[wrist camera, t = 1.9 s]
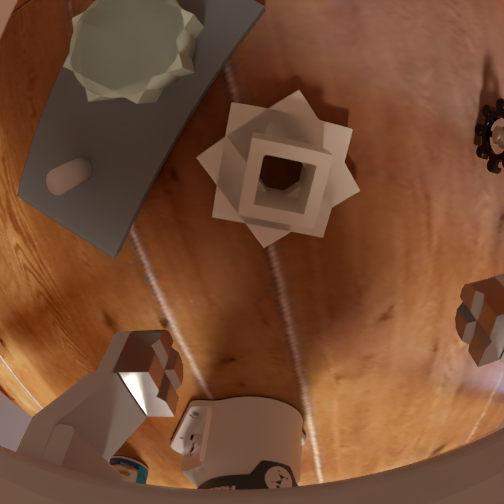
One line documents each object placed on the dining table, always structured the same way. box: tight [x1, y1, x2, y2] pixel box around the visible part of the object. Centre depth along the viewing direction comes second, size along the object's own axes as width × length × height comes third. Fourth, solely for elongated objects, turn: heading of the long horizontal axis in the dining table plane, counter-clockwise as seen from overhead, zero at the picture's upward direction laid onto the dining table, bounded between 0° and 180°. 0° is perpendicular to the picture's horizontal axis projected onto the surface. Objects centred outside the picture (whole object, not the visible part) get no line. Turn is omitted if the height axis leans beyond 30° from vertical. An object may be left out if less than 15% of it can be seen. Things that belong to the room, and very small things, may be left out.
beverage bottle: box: [109, 456, 148, 484], centre depth 41 cm, size 8×8×20 cm
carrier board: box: [17, 0, 265, 258], centre depth 20 cm, size 24×12×6 cm, turn 147°
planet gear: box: [196, 90, 360, 248], centre depth 22 cm, size 13×13×5 cm
